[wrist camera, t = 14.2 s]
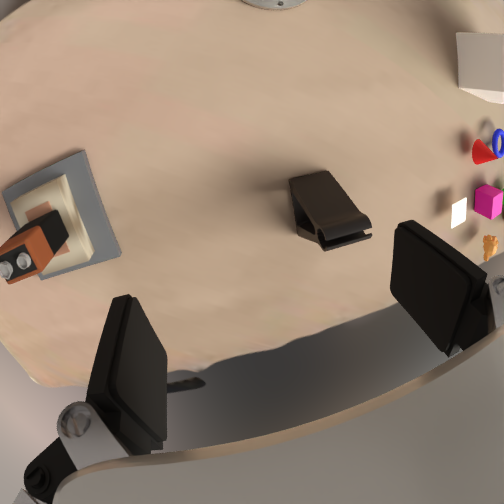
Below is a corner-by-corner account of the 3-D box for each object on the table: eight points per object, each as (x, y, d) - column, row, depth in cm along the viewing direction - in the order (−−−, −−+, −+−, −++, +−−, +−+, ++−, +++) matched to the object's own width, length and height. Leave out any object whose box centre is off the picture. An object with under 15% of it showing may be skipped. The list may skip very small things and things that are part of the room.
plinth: (20, 195, 31) (9, 203, 28) (65, 174, 32) (55, 180, 29) (50, 265, 37) (42, 276, 34) (94, 250, 37) (88, 261, 35)
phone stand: (288, 178, 39) (323, 206, 29) (327, 170, 40) (371, 194, 29) (297, 234, 44) (328, 277, 33) (332, 225, 44) (371, 263, 34)
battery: (24, 224, 30) (-14, 259, 21) (58, 207, 30) (21, 241, 22) (36, 250, 32) (4, 290, 24) (71, 236, 33) (40, 277, 24)
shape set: (509, 222, 56) (527, 232, 50) (439, 272, 53) (462, 289, 47) (513, 120, 42) (535, 126, 35) (441, 137, 39) (473, 146, 32)
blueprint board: (5, 189, 31) (1, 192, 30) (84, 149, 32) (81, 151, 31) (43, 276, 39) (41, 280, 38) (121, 252, 40) (120, 256, 39)
